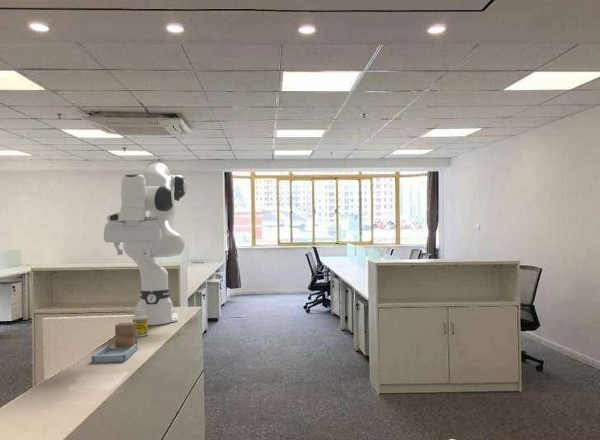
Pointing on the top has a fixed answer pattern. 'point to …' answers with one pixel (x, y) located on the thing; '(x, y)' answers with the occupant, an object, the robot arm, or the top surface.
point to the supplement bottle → (141, 322)
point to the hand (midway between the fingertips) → (132, 254)
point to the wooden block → (125, 334)
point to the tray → (114, 354)
